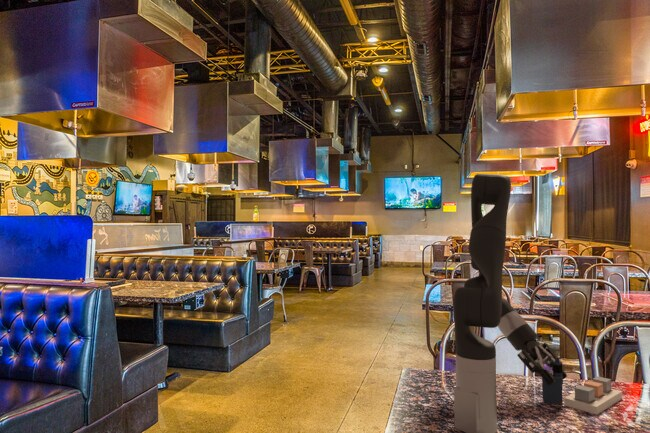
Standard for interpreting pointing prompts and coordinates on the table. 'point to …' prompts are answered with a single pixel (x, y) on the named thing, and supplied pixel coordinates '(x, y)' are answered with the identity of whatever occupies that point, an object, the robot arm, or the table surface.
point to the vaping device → (554, 385)
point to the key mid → (595, 387)
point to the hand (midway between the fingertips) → (558, 380)
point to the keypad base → (594, 402)
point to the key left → (584, 393)
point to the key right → (603, 381)
